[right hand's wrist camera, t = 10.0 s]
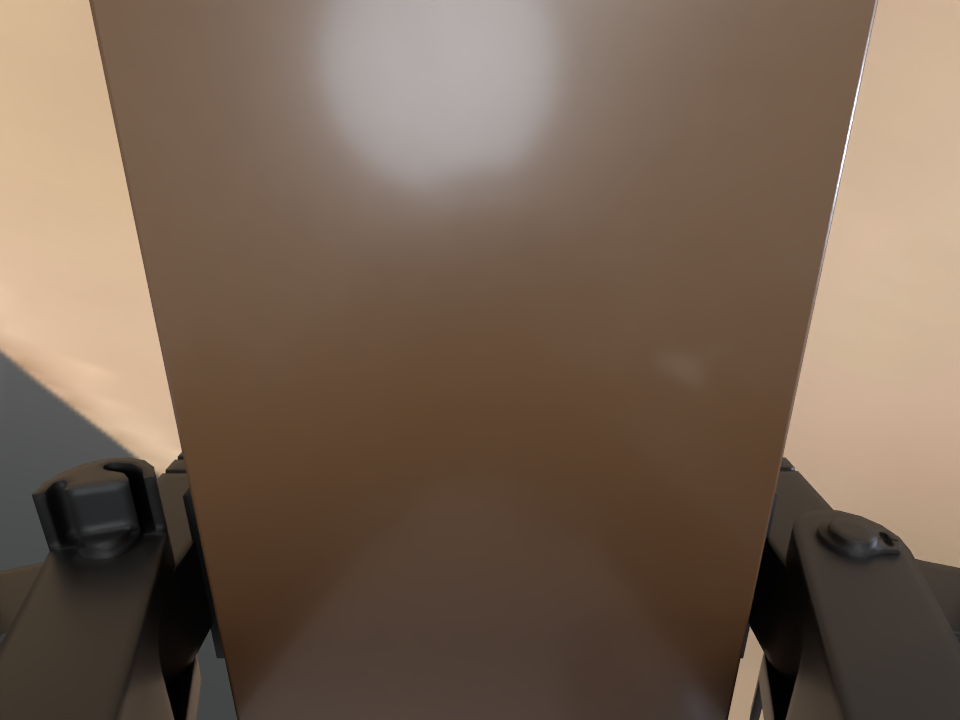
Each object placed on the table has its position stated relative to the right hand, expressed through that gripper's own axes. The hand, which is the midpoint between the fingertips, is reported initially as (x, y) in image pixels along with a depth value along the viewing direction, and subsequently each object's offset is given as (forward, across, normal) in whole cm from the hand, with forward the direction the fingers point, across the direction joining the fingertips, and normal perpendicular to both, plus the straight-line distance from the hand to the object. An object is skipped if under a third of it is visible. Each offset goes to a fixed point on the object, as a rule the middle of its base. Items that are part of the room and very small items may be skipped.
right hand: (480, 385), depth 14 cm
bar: (+1, 0, -12) cm, 12 cm away
